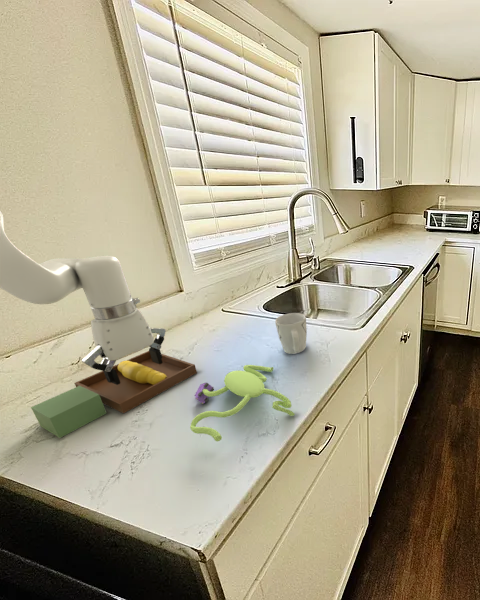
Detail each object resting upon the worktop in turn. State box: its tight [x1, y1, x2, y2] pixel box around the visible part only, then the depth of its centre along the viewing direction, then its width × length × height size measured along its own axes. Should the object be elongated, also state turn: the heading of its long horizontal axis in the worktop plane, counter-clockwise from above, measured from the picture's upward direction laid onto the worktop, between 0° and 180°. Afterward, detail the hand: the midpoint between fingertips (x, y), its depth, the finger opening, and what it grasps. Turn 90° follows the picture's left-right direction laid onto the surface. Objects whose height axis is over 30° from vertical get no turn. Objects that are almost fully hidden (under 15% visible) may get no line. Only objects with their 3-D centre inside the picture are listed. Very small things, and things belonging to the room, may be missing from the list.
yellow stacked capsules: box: [117, 360, 167, 385], centre depth 82 cm, size 17×4×4 cm, turn 65°
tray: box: [74, 350, 198, 414], centre depth 82 cm, size 19×17×3 cm
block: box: [30, 386, 108, 439], centre depth 69 cm, size 8×8×5 cm
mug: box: [274, 312, 308, 355], centre depth 94 cm, size 11×8×10 cm
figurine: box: [189, 364, 295, 442], centre depth 73 cm, size 18×27×6 cm
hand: (137, 372), depth 82 cm, fingers open, 9 cm apart
